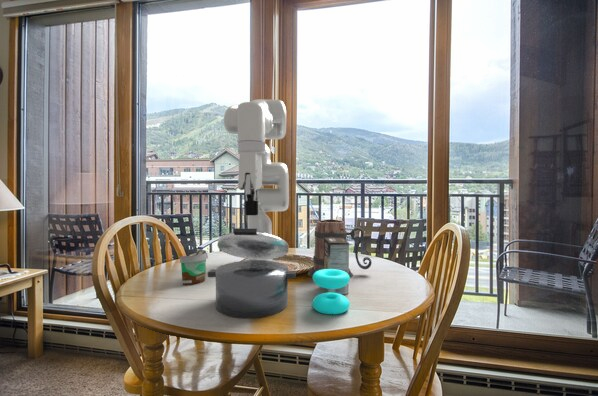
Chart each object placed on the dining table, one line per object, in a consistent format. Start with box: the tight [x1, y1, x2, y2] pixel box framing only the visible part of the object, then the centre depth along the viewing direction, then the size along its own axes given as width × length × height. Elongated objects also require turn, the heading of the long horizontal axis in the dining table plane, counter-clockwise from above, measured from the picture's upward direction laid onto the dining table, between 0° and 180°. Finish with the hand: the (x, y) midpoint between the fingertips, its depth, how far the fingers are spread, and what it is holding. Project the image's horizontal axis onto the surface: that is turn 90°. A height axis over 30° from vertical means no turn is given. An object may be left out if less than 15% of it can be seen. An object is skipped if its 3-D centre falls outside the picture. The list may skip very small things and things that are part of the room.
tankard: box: [307, 219, 373, 279], centre depth 123 cm, size 24×17×20 cm
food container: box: [179, 248, 209, 286], centre depth 113 cm, size 12×6×10 cm, turn 168°
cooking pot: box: [207, 259, 297, 319], centre depth 93 cm, size 20×24×10 cm
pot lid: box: [217, 227, 289, 260], centre depth 94 cm, size 22×20×3 cm
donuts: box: [312, 269, 351, 315], centre depth 89 cm, size 10×10×10 cm
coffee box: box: [324, 238, 350, 295], centre depth 105 cm, size 9×6×16 cm
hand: (252, 214), depth 92 cm, fingers closed
